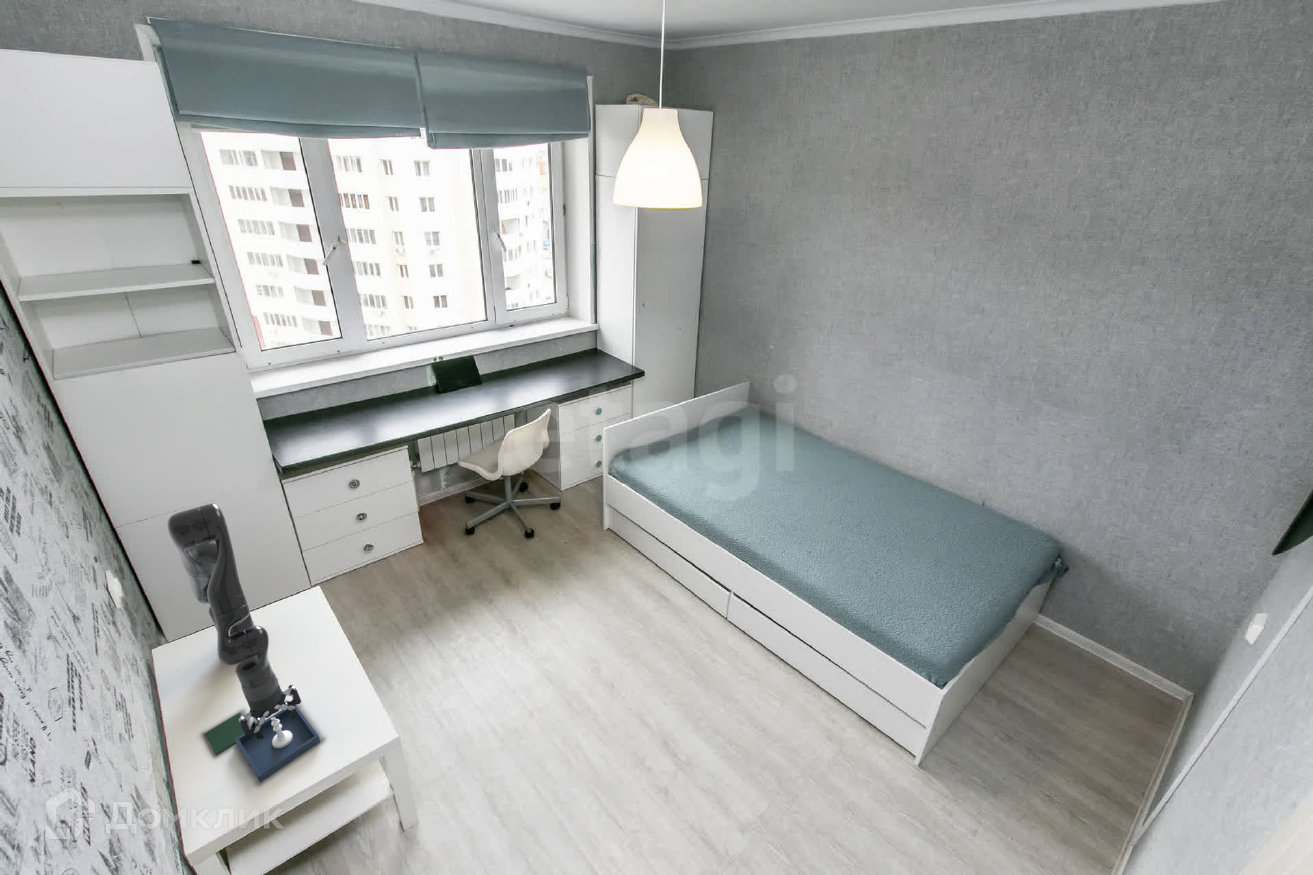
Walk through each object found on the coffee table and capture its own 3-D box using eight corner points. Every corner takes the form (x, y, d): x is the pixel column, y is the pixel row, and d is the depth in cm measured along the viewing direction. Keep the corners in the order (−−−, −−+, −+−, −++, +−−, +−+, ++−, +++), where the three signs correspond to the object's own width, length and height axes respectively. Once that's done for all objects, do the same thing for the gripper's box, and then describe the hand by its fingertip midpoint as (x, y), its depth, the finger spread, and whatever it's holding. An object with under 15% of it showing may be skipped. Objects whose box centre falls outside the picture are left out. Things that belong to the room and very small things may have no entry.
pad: (204, 734, 166) (203, 733, 166) (240, 712, 172) (239, 712, 172) (216, 755, 161) (216, 754, 161) (252, 732, 168) (252, 731, 167)
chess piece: (283, 749, 164) (274, 727, 159) (268, 745, 164) (258, 723, 159) (296, 733, 168) (288, 711, 163) (281, 729, 169) (272, 707, 164)
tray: (236, 744, 164) (234, 739, 163) (296, 707, 175) (294, 702, 174) (259, 782, 156) (257, 777, 155) (320, 741, 167) (318, 735, 166)
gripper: (284, 663, 162) (298, 701, 170) (224, 697, 152) (242, 735, 160) (296, 679, 158) (310, 717, 166) (236, 715, 148) (254, 753, 156)
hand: (277, 726), depth 163 cm, fingers open, 7 cm apart
